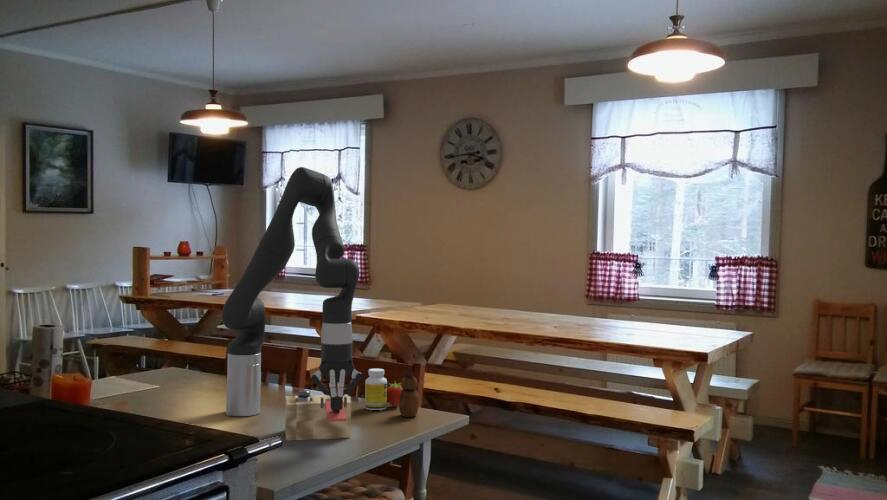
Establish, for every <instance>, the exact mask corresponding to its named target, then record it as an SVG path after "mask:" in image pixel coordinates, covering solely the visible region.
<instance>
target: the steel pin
mask: <svg viewBox="0 0 887 500" xmlns="http://www.w3.org/2000/svg"><path fill="white" fill-rule="evenodd" d="M310 395H311V390H309V389H301V390H298V391H297V396H298V402H302V401H310Z"/></svg>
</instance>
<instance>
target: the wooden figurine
mask: <svg viewBox="0 0 887 500" xmlns="http://www.w3.org/2000/svg"><path fill="white" fill-rule="evenodd" d="M400 383H401V384H400V386H401V387H402V388H403V390H402V391H401V392H400V395H399V405H398V407H399V413H400V415H401V416H403V417H405V418H413V417H415V416H416V415H417V414H418V411H419V407H420V396H419V392H418V391H417V390H416V389H417V388H418V379H417V377H415V376H414V372H412V369H411V365H410V364H409V363H408V362H406V368H405V376H403V377H402V379H401V381H400Z"/></svg>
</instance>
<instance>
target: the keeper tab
mask: <svg viewBox="0 0 887 500" xmlns="http://www.w3.org/2000/svg"><path fill="white" fill-rule="evenodd" d="M325 407H326V414H327V420H328V422H334V421H346V415H345V409H344V404H343V408H342V410H340V412H333V410H331V407H330V399H326V401H325Z"/></svg>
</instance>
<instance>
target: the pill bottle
mask: <svg viewBox="0 0 887 500" xmlns="http://www.w3.org/2000/svg"><path fill="white" fill-rule="evenodd" d="M367 372H368V376H369V377H367V378H366V379H365V382H364V384H365V388H364V389H365V392H364V396H365V398H364V408H365V409H366V410H368V411H372V410H380V411H383V410H386V409H387V406H388V402H387V401H388V399H387V388H388V380H387V378H386V377H384V375H385V369H383V368H369V369H368V371H367Z"/></svg>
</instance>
